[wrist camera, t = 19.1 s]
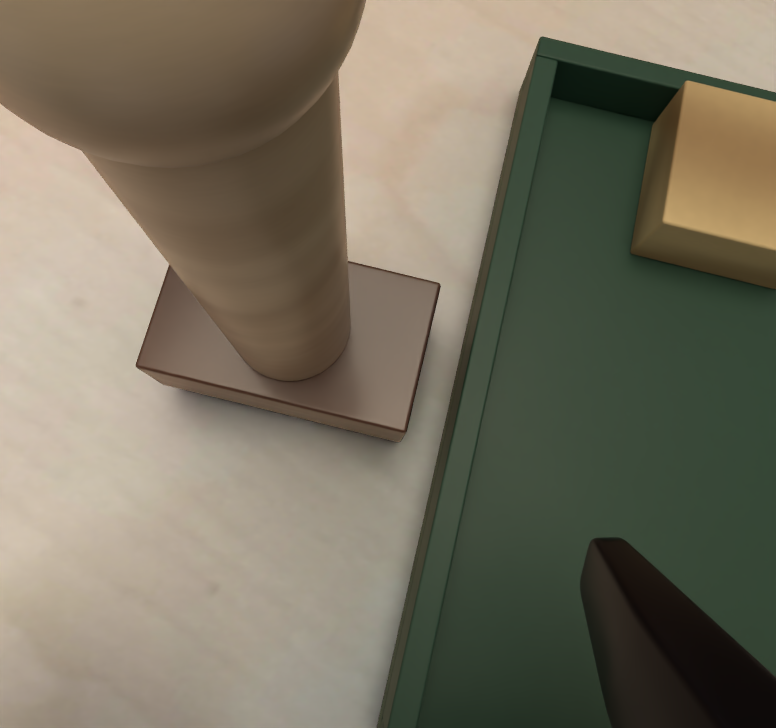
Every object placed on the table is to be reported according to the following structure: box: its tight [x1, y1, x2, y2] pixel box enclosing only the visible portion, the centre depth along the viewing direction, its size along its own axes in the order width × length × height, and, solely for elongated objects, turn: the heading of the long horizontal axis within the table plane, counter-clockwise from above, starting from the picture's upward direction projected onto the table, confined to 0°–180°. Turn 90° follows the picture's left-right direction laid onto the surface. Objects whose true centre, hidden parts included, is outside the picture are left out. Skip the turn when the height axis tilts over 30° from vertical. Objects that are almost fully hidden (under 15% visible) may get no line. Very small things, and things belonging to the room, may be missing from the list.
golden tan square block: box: [630, 81, 776, 289], centre depth 17 cm, size 4×4×2 cm
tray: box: [377, 37, 776, 728], centre depth 16 cm, size 18×12×2 cm, turn 166°
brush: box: [0, 0, 441, 442], centre depth 10 cm, size 4×6×15 cm, turn 76°
